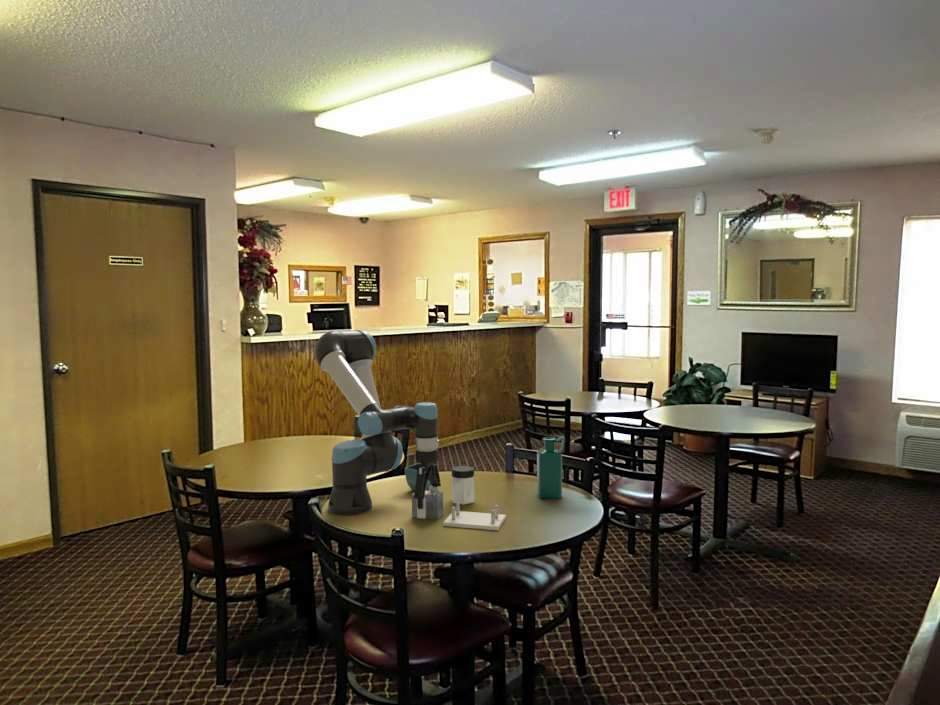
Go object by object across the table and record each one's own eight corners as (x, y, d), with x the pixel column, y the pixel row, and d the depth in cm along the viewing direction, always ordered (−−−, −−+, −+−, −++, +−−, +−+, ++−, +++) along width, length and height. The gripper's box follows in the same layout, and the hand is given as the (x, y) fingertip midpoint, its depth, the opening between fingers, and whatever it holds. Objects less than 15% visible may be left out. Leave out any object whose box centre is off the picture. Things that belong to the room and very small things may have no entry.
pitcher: (539, 499, 235) (539, 439, 233) (536, 492, 243) (536, 435, 242) (566, 498, 235) (566, 439, 234) (562, 492, 244) (562, 434, 242)
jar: (458, 506, 228) (458, 472, 227) (446, 500, 235) (446, 468, 234) (479, 501, 233) (479, 469, 232) (467, 496, 240) (467, 464, 239)
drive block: (412, 518, 216) (411, 494, 215) (418, 512, 221) (417, 489, 221) (437, 520, 213) (437, 495, 213) (443, 514, 219) (442, 490, 218)
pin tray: (443, 525, 207) (443, 510, 207) (453, 514, 219) (453, 499, 219) (497, 530, 203) (497, 514, 202) (505, 518, 214) (505, 502, 214)
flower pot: (422, 494, 242) (422, 470, 242) (404, 491, 247) (403, 467, 246) (436, 488, 250) (435, 465, 249) (417, 485, 255) (417, 463, 254)
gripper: (425, 458, 203) (426, 524, 204) (448, 442, 227) (449, 501, 228) (402, 457, 205) (404, 522, 206) (428, 441, 229) (429, 500, 230)
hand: (428, 511), depth 217 cm, fingers open, 13 cm apart
